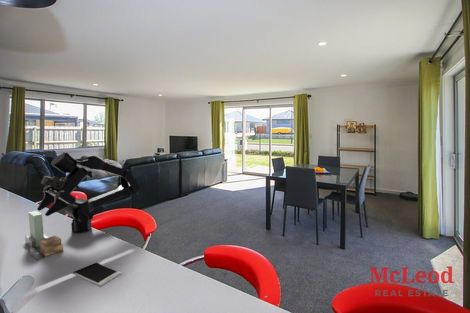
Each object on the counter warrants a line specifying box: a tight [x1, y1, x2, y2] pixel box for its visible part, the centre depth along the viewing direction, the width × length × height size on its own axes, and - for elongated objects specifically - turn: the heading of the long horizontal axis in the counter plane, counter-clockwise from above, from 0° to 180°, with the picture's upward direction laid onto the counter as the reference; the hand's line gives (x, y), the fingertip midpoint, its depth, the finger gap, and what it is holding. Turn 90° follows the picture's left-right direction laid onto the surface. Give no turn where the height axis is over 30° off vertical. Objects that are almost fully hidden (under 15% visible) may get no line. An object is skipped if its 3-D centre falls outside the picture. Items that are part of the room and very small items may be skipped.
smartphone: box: [71, 262, 122, 287], centre depth 77 cm, size 7×16×1 cm, turn 64°
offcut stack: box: [40, 235, 64, 256], centre depth 88 cm, size 6×5×4 cm
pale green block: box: [28, 210, 45, 247], centre depth 92 cm, size 2×6×12 cm, turn 53°
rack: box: [20, 232, 64, 261], centre depth 90 cm, size 8×18×4 cm, turn 53°
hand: (42, 212), depth 94 cm, fingers open, 9 cm apart
